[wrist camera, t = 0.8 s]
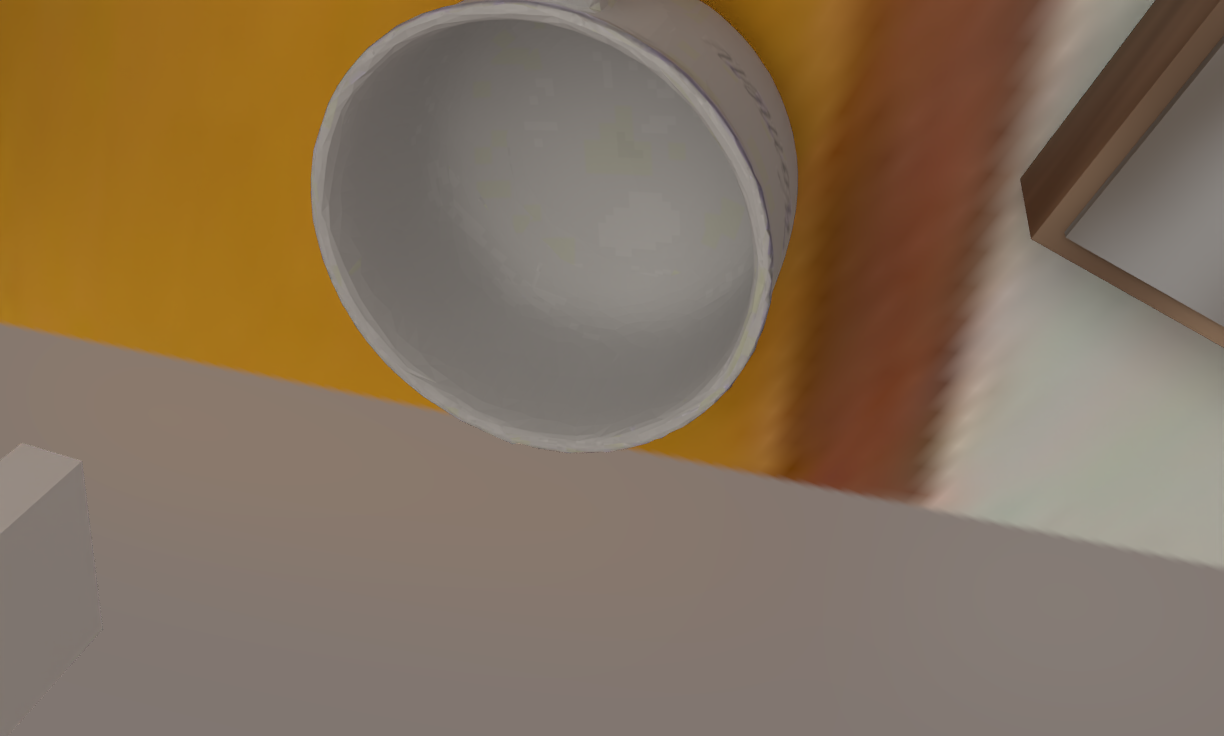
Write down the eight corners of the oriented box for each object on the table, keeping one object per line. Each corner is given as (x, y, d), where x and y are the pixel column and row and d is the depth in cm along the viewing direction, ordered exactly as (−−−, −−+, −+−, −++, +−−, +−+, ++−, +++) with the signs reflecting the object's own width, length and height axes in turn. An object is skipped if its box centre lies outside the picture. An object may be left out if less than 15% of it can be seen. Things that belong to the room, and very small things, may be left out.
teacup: (729, 366, 33) (675, 526, 26) (403, 233, 34) (270, 357, 27) (935, -104, 26) (933, -46, 19) (510, -263, 26) (361, -262, 19)
